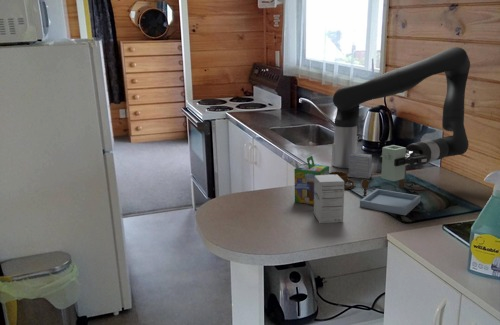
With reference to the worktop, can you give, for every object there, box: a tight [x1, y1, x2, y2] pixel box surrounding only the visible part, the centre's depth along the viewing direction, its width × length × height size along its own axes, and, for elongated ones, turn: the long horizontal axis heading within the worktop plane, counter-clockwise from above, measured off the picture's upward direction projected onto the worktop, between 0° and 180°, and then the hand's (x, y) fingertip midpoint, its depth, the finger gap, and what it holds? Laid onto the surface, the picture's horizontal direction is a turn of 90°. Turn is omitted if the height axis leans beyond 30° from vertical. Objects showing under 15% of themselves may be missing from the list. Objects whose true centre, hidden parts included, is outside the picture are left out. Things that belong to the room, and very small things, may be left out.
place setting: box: [329, 171, 370, 197], centre depth 168 cm, size 18×20×6 cm
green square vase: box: [380, 144, 407, 182], centre depth 147 cm, size 5×6×10 cm
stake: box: [397, 165, 407, 189], centre depth 167 cm, size 2×2×13 cm
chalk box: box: [293, 155, 330, 206], centre depth 155 cm, size 9×9×15 cm
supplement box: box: [313, 175, 345, 224], centre depth 139 cm, size 7×7×13 cm
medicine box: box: [348, 153, 373, 180], centre depth 182 cm, size 8×4×9 cm, turn 65°
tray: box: [359, 188, 422, 216], centre depth 151 cm, size 15×15×2 cm
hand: (388, 161), depth 146 cm, fingers closed on green square vase, 5 cm apart
